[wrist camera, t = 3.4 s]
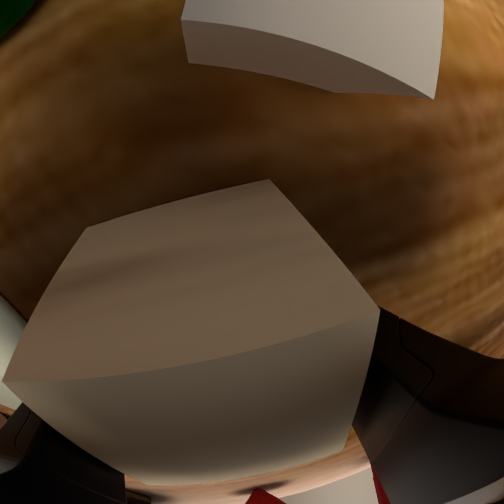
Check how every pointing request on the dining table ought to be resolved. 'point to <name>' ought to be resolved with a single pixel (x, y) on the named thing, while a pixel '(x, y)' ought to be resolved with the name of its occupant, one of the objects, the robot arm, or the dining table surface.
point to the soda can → (12, 13)
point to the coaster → (8, 347)
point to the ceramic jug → (137, 498)
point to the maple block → (200, 341)
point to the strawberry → (263, 498)
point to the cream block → (322, 42)
